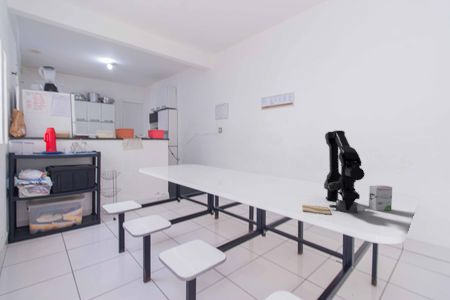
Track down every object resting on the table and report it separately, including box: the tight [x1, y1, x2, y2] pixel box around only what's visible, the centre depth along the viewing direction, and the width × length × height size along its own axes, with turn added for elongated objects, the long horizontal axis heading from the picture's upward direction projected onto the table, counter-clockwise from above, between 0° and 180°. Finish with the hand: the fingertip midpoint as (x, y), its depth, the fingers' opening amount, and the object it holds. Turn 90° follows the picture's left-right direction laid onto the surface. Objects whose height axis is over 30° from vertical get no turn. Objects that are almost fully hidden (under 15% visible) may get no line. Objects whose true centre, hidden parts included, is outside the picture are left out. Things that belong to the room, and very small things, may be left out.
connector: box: [328, 199, 366, 214], centre depth 103 cm, size 4×15×4 cm, turn 72°
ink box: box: [368, 185, 393, 212], centre depth 107 cm, size 9×5×12 cm, turn 96°
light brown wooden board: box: [301, 204, 332, 216], centre depth 104 cm, size 10×12×1 cm
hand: (346, 208), depth 103 cm, fingers closed on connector, 4 cm apart
